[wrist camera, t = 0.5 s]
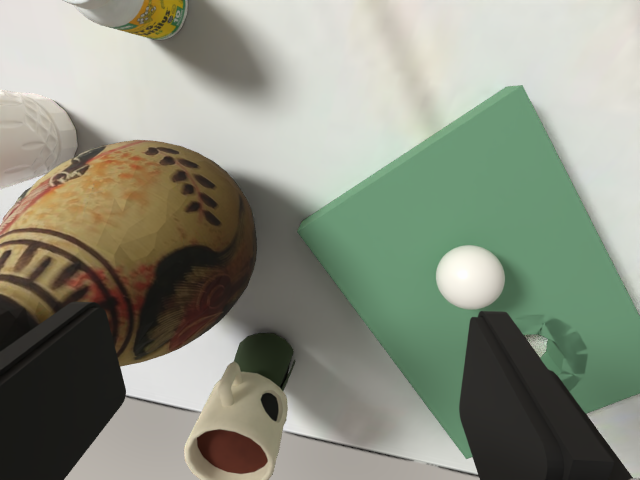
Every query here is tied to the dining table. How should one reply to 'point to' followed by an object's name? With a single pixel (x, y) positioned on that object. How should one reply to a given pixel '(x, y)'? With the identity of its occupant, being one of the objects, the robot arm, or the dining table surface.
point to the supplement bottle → (136, 15)
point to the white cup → (32, 137)
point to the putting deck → (493, 235)
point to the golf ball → (470, 277)
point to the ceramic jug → (128, 246)
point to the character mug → (243, 414)
